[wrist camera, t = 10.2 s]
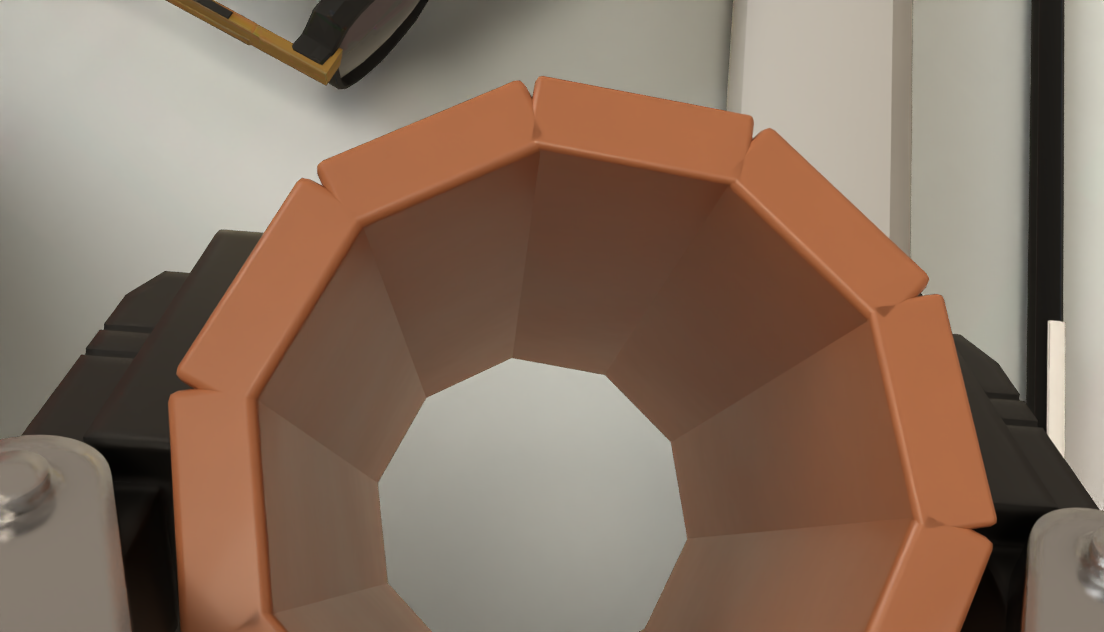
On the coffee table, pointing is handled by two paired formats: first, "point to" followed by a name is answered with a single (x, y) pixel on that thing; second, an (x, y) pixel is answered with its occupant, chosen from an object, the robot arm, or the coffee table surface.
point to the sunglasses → (323, 35)
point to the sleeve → (585, 366)
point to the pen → (1046, 223)
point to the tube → (834, 94)
